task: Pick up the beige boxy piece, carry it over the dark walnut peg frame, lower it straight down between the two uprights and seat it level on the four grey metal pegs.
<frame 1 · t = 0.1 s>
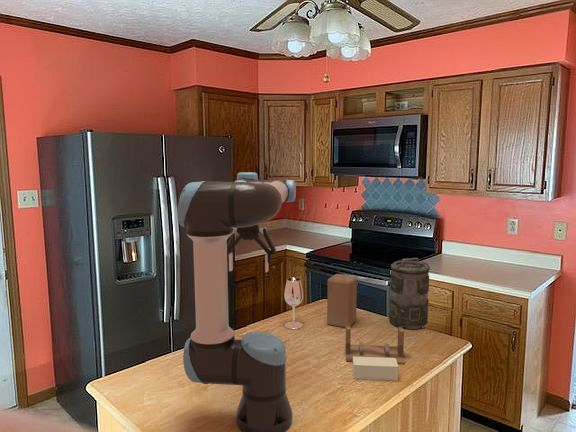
hand: (248, 270, 168), 28 cm above the counter, fingers open, 13 cm apart
beige boxy piece: (374, 375, 147), on the counter
peg frame: (373, 354, 161), on the counter
canister: (407, 323, 191), on the counter
wineglass: (293, 326, 188), on the counter
block: (341, 323, 191), on the counter
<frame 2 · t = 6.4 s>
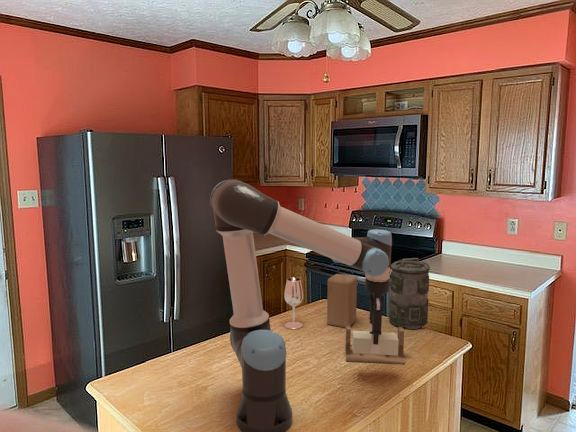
hand: (373, 348, 145), 9 cm above the counter, fingers closed on beige boxy piece, 6 cm apart
beige boxy piece: (374, 350, 145), point 9 cm above the counter, touching gripper
everything else where it was.
when the fingers open (3 cm above the counter, at t = 9.7 s): beige boxy piece stays where it is, resting on peg frame.
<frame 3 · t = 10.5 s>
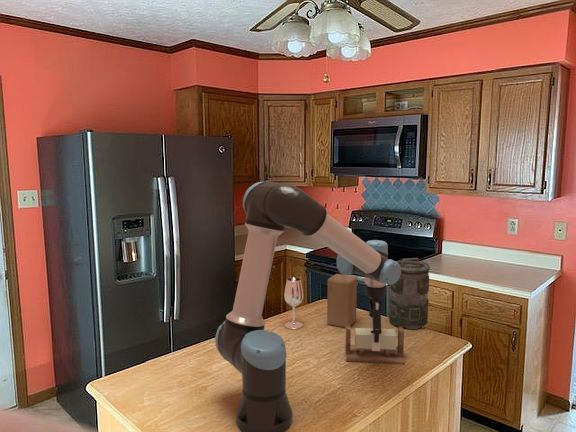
hand: (374, 342, 161), 5 cm above the counter, fingers open, 13 cm apart
beige boxy piece: (375, 345, 161), point 3 cm above the counter, touching peg frame
everything else where it was.
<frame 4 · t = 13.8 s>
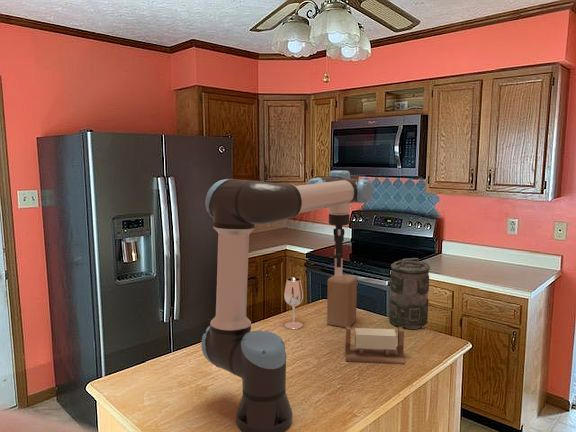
hand: (338, 270, 165), 29 cm above the counter, fingers open, 13 cm apart
nothing on the counter moved.
at the end: beige boxy piece 0.3 cm off-centre on the peg frame, point 3.5 cm above the peg frame's base; beige boxy piece tilted 0°; the gripper is holding nothing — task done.
